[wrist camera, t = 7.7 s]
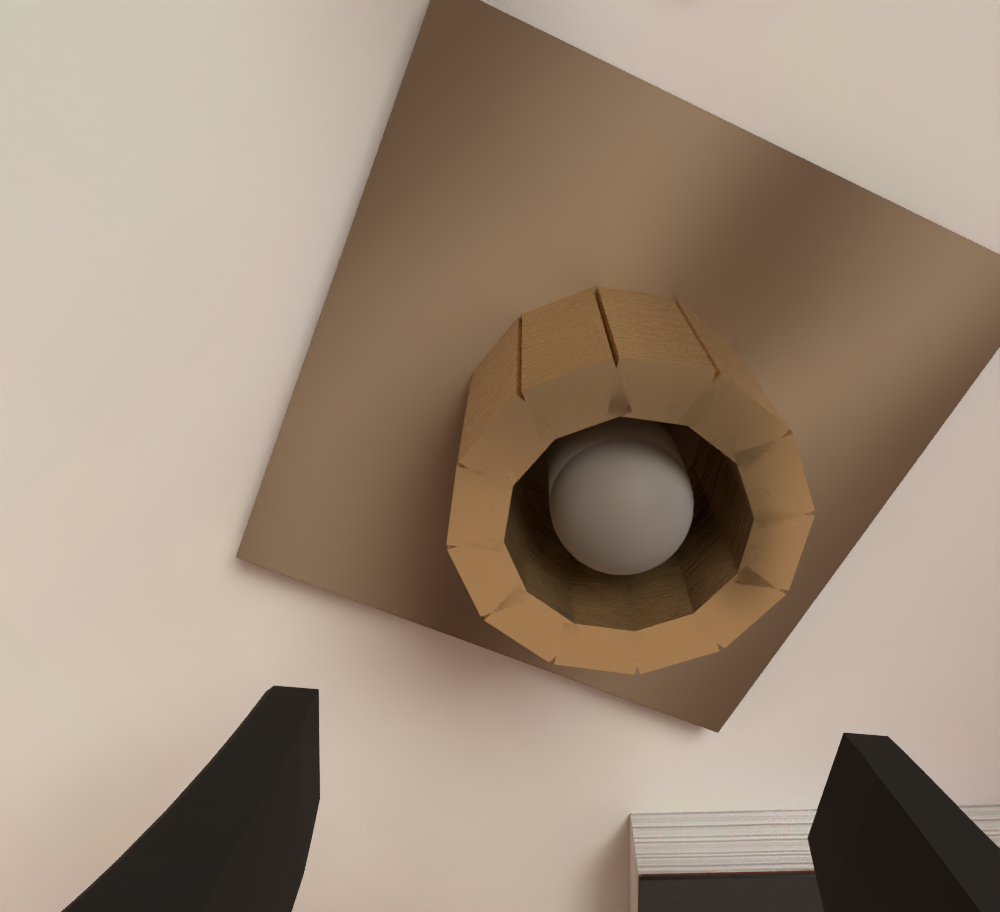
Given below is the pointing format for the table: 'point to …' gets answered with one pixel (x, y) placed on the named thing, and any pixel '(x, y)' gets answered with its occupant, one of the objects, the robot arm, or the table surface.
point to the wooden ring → (713, 475)
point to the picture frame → (735, 860)
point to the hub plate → (591, 263)
